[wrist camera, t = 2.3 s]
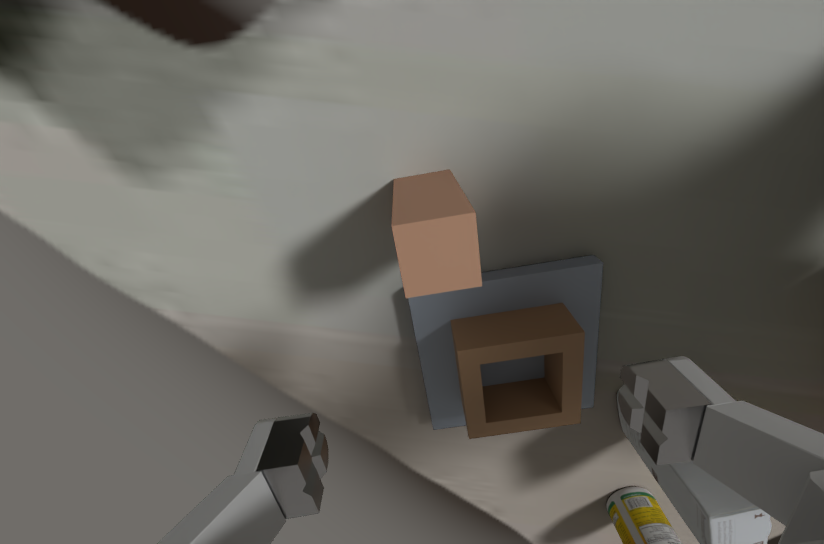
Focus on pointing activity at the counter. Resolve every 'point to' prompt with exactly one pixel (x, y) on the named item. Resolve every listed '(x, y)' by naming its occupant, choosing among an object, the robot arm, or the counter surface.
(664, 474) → the skincare box
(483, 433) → the collar socket
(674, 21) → the counter surface
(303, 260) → the counter surface
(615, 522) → the supplement bottle
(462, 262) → the terracotta peg
